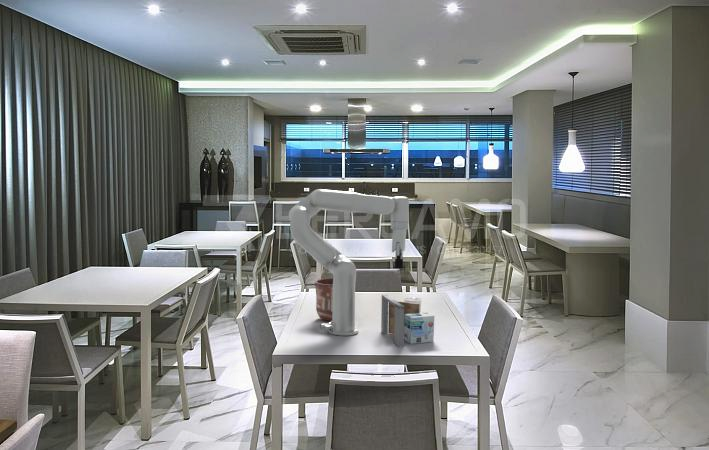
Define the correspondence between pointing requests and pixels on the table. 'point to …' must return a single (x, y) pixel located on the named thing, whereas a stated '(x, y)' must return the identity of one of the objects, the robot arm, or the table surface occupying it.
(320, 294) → the pottery
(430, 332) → the light bulb box
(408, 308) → the door
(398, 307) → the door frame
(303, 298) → the table surface
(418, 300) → the white cup
